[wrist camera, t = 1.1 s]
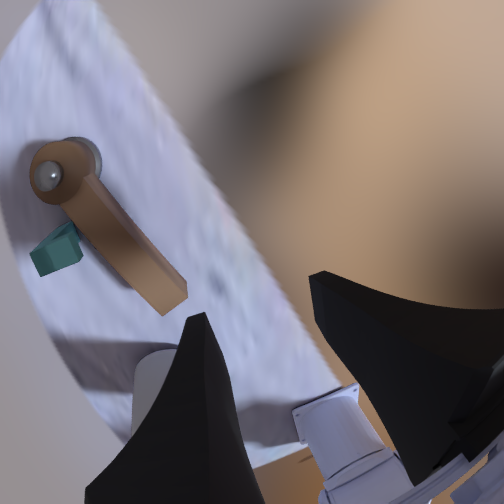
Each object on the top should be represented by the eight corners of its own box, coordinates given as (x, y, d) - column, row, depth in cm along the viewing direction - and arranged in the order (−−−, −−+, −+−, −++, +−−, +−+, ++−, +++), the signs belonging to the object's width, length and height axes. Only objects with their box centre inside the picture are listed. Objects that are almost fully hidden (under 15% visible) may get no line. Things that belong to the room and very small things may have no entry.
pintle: (109, 182, 15) (88, 198, 11) (61, 203, 15) (31, 224, 11) (92, 127, 14) (66, 125, 10) (44, 151, 13) (9, 158, 9)
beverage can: (121, 374, 21) (114, 505, 10) (165, 329, 20) (173, 482, 9) (180, 403, 23) (198, 521, 13) (227, 366, 23) (266, 495, 12)
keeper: (99, 233, 16) (79, 262, 12) (66, 246, 16) (40, 277, 12) (91, 212, 16) (67, 236, 12) (57, 227, 15) (29, 253, 11)
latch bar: (40, 166, 13) (20, 172, 11) (75, 129, 13) (59, 128, 11) (156, 301, 18) (154, 324, 16) (193, 273, 18) (196, 294, 16)
